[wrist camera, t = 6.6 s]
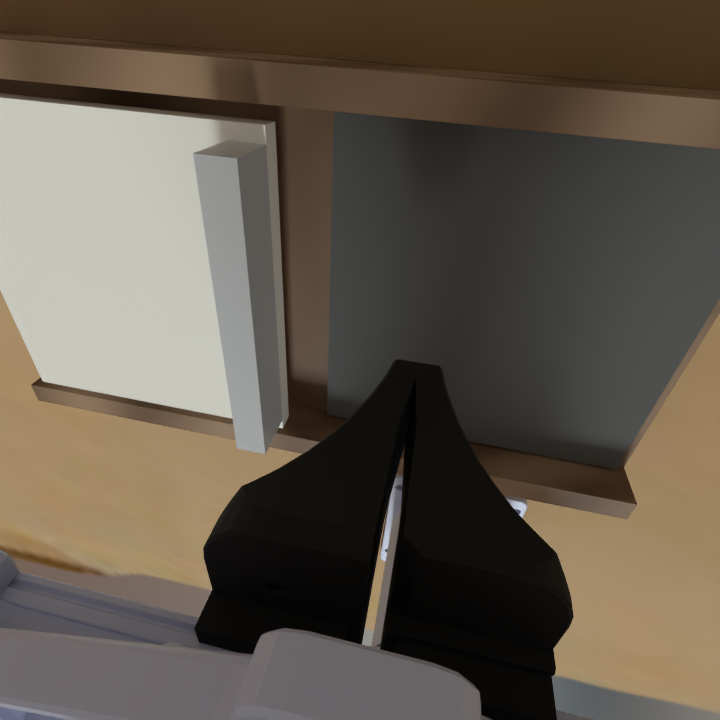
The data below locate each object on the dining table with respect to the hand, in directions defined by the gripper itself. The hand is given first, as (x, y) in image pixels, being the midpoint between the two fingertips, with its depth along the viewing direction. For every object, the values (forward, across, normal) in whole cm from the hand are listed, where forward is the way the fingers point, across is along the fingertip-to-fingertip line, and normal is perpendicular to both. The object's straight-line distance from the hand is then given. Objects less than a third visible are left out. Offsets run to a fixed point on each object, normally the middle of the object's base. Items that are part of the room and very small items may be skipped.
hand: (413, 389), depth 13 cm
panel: (+5, -3, 0) cm, 6 cm away
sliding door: (+4, +11, 0) cm, 12 cm away
